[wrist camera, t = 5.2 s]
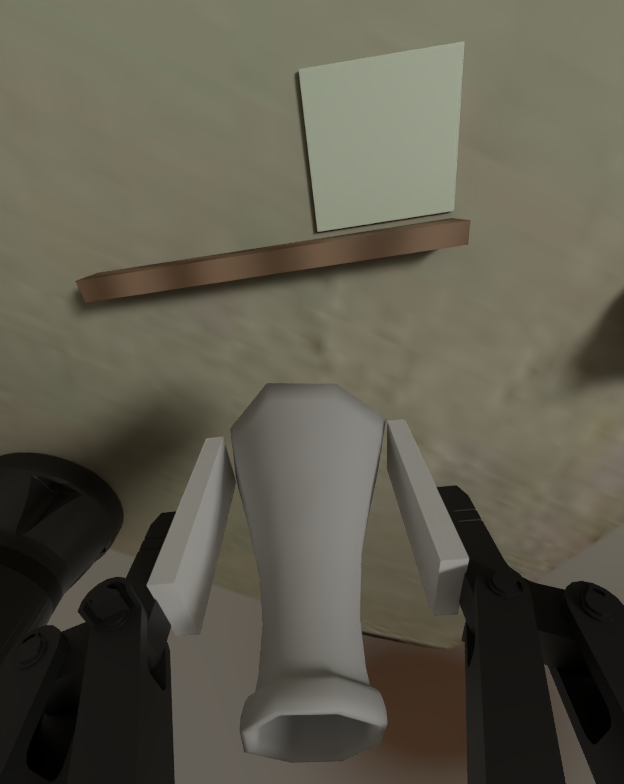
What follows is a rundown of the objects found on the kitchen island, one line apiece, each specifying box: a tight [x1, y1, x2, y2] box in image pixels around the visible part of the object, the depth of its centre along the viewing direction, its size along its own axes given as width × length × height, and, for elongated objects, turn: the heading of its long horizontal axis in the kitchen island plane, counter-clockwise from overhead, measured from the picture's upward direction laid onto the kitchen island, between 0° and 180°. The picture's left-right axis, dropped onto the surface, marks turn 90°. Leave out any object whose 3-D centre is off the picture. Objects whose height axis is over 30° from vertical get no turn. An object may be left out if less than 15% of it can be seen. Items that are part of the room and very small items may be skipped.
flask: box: [230, 383, 387, 763], centre depth 12 cm, size 7×7×10 cm
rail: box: [76, 218, 470, 303], centre depth 25 cm, size 27×2×3 cm, turn 98°
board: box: [299, 41, 464, 232], centre depth 23 cm, size 10×9×1 cm
